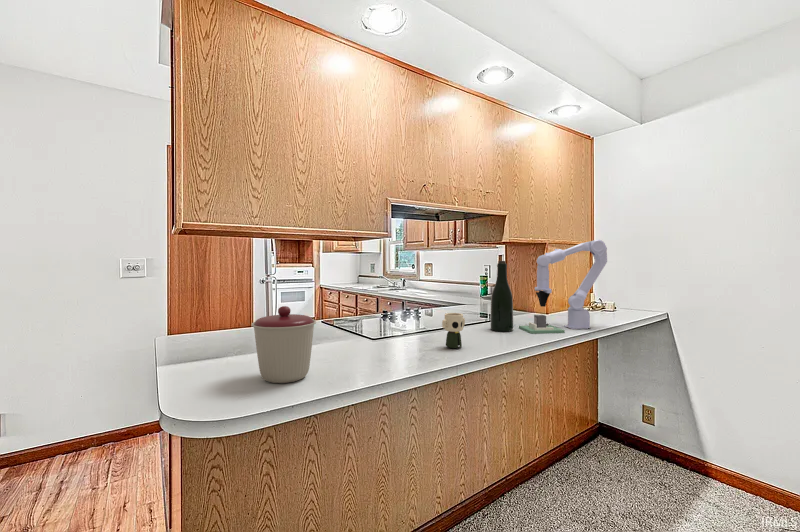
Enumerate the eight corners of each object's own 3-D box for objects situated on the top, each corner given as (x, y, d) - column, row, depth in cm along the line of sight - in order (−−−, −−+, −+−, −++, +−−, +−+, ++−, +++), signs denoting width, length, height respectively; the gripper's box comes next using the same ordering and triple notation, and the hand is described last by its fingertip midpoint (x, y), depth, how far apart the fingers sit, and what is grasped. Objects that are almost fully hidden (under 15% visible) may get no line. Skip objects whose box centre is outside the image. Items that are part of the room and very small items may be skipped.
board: (550, 327, 201) (550, 320, 201) (564, 332, 187) (564, 324, 187) (518, 328, 199) (518, 320, 199) (530, 333, 185) (530, 325, 185)
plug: (545, 327, 193) (546, 314, 193) (549, 328, 189) (549, 315, 189) (533, 327, 193) (533, 314, 193) (536, 329, 189) (536, 316, 189)
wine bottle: (486, 329, 198) (486, 260, 197) (505, 327, 201) (505, 260, 200) (497, 332, 188) (498, 260, 187) (517, 331, 191) (517, 260, 190)
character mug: (448, 351, 152) (448, 316, 152) (436, 347, 158) (436, 314, 158) (470, 347, 158) (470, 314, 158) (458, 344, 164) (458, 311, 164)
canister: (292, 366, 132) (291, 301, 132) (329, 376, 121) (328, 305, 120) (239, 379, 118) (238, 307, 118) (276, 392, 107) (275, 312, 106)
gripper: (529, 278, 211) (529, 304, 211) (541, 280, 196) (541, 308, 197) (542, 278, 212) (542, 304, 212) (555, 280, 197) (555, 308, 198)
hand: (542, 306), depth 204 cm, fingers closed
